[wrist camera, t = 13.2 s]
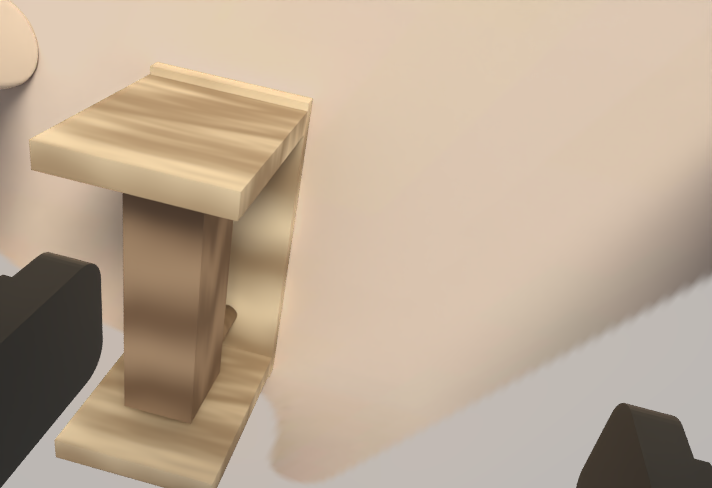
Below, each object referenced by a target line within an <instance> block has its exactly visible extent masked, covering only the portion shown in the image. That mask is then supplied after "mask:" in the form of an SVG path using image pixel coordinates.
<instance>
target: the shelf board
mask: <svg viewBox="0 0 712 488" xmlns="http://www.w3.org/2000/svg"><path fill="white" fill-rule="evenodd" d="M232 231H233V220H230V219H226V218H222V217H218V216H214V215H210V214H206V213H202V212H198V211H194V210H190V209H186V208H182V207H178V206H174V205H170V204H166V203H162V202H158V201H154V200H150V199H146V198H142V197H138V196H134V195H130V194H126V193H123V286H124V405H125V406H127V407H131V408H134V409H138V410H142V411H145V412H149V413H153V414H156V415H160V416H164V417H167V418H171V419H175V420H178V421H182V422H186V423H189V424H191V422H192V421H193V419H194V417H195V415H196V414H197V412H198V410H199V408H200V406H201V405H202V403H203V401H204V399H205V398H206V396H207V394H208V392H209V390H210V389H211V387H212V385H213V383H214V382H215V380H216V378H217V376H218V374H219V373H220V363H221V352H222V341H223V330H224V319H225V308H226V297H227V286H228V275H229V264H230V253H231V242H232Z"/></svg>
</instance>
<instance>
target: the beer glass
mask: <svg viewBox="0 0 712 488" xmlns="http://www.w3.org/2000/svg"><path fill="white" fill-rule="evenodd" d="M37 61H38V46H37V41H36V37H35V34H34V32H33V30H32V27H31V25H30V24H29V22H28V20H27V19H26V17H25V16H24V15H23V13H22V12H21V11H20V10H19V9H18V8H17V7H16V6H15V5H14V4H13V3H12V2H11V1H9V0H0V89H8V88H13V87H16V86H19V85H21V84H23V83H24V82H26V81H27V80H28V79H29V78H30V77H31V76H32V74H33V73H34V71H35V68H36V66H37Z"/></svg>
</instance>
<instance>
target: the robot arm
mask: <svg viewBox="0 0 712 488" xmlns="http://www.w3.org/2000/svg"><path fill="white" fill-rule="evenodd" d="M102 342H103V336H102V300H101V274H100V270H99V268H98V267H97V266H96V265H95V264H92V263H88V262H85V261H81V260H77V259H73V258H69V257H65V256H62V255H58V254H54V253H49V252H46V253H43V254H41V255H39V256H38V257H36V258H35V259H34V260H33V261H31V262H30V263H29V264H28V265H26V266H25V267H24V268H23V269H22V270H20V271H19V272H18V273H17V274H15V275H14V276H13V277H9V276H6V275H1V276H0V488H1V487H2V486H3V484H4V483H5V482H6V481H7V479H8V478H9V477H10V476H11V475H12V473H13V472H14V471H15V470H16V468H17V467H18V466H19V465H20V464H21V462H22V461H23V460H24V459H25V458H26V456H27V455H28V454H29V453H30V451H31V450H32V449H33V448H34V446H35V445H36V444H37V443H38V442H39V440H40V439H41V438H42V437H43V435H44V434H45V433H46V432H47V431H48V429H49V428H50V427H51V426H52V424H53V423H54V422H55V421H56V419H57V418H58V417H59V416H60V415H61V414H62V412H63V411H64V410H65V409H66V407H67V406H68V405H69V404H70V403H71V401H72V400H73V399H74V398H75V397H76V395H77V394H78V393H79V392H80V390H81V389H82V388H83V387H84V386H85V384H86V383H87V382H88V380H89V379H90V378H91V376H92V374H93V373H94V370H95V369H96V366H97V364H98V361H99V358H100V355H101V350H102ZM576 488H712V466H711V464H710V463H709V462H705V461H701V460H697V459H694V457H693V454H692V451H691V449H690V446H689V443H688V440H687V437H686V435H685V432H684V429H683V426H682V424H681V422H680V421H679V419H678V418H676V417H675V416H672V415H668V414H664V413H660V412H656V411H653V410H648V409H645V408H641V407H637V406H633V405H630V404H626V403H621V404H619V405H618V406H617V407H616V408H615V409H614V410H613V412H612V414H611V416H610V418H609V420H608V421H607V424H606V425H605V428H604V429H603V431H602V433H601V435H600V437H599V439H598V441H597V443H596V444H595V446H594V448H593V450H592V452H591V454H590V456H589V458H588V460H587V462H586V464H585V466H584V467H583V469H582V471H581V474H580V476H579V479H578V483H577V487H576Z"/></svg>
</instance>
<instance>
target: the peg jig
mask: <svg viewBox="0 0 712 488" xmlns="http://www.w3.org/2000/svg"><path fill="white" fill-rule="evenodd" d="M312 100H313V99H312V98H307V97H303V96H299V95H295V94H290V93H286V92H282V91H278V90H273V89H269V88H265V87H260V86H256V85H252V84H248V83H243V82H239V81H235V80H231V79H226V78H222V77H218V76H214V75H209V74H205V73H201V72H197V71H192V70H188V69H184V68H179V67H175V66H171V65H167V64H162V63H158V62H157V63H155V64H153V65H152V66H150V75H148V76H146V77H144V78H142V79H140V80H139V81H137V82H135V83H133V84H131V85H129V86H127V87H126V88H124V89H122V90H120V91H118V92H116V93H114V94H113V95H111V96H109V97H107V98H105V99H103V100H102V101H100V102H98V103H96V104H94V105H92V106H90V107H89V108H87V109H85V110H83V111H81V112H79V113H77V114H76V115H74V116H72V117H70V118H68V119H66V120H65V121H63V122H61V123H59V124H57V125H55V126H53V127H52V128H50V129H48V130H46V131H44V132H42V133H40V134H39V135H37V136H35V137H33V138H31V139H29V147H30V158H31V170H34V171H38V172H42V173H46V174H50V175H54V176H58V177H62V178H66V179H70V180H74V181H78V182H82V183H86V184H90V185H94V186H98V187H102V188H106V189H110V190H114V191H118V192H122V193H126V194H130V195H134V196H138V197H142V198H146V199H150V200H154V201H158V202H162V203H166V204H170V205H174V206H178V207H182V208H186V209H190V210H194V211H198V212H202V213H206V214H210V215H214V216H218V217H222V218H226V219H230V220H233V231H232V242H231V253H230V264H229V275H228V286H227V297H226V308H225V319H224V330H223V341H222V352H221V363H220V373H219V374H218V376H217V378H216V380H215V382H214V383H213V385H212V387H211V389H210V390H209V392H208V394H207V396H206V398H205V399H204V401H203V403H202V405H201V406H200V408H199V410H198V412H197V414H196V415H195V417H194V419H193V421H192V422H191V424H189V423H186V422H182V421H178V420H175V419H171V418H167V417H164V416H160V415H156V414H153V413H149V412H145V411H142V410H138V409H134V408H131V407H127V406H125V405H124V353H123V354H122V356H121V357H120V358H119V359H118V361H117V362H116V363H115V365H114V366H113V367H112V368H111V370H110V371H109V372H108V373H107V375H106V376H105V377H104V378H103V380H102V381H101V382H100V383H99V385H98V386H97V387H96V389H95V390H94V391H93V392H92V393H91V395H90V396H89V397H88V399H87V400H86V401H85V402H84V404H83V405H82V406H81V407H80V409H79V410H78V411H77V412H76V414H75V415H74V416H73V417H72V419H71V420H70V421H69V422H68V424H67V425H66V427H65V428H64V429H63V430H62V431H61V433H60V434H59V435H58V436H57V438H56V439H55V452H56V457H58V458H61V459H65V460H68V461H72V462H75V463H79V464H82V465H86V466H90V467H93V468H97V469H100V470H104V471H107V472H111V473H114V474H118V475H121V476H125V477H128V478H132V479H135V480H139V481H143V482H146V483H149V484H153V485H157V486H160V487H164V488H217V487H218V484H219V482H220V480H221V478H222V476H223V474H224V471H225V469H226V467H227V465H228V463H229V460H230V458H231V456H232V454H233V452H234V450H235V447H236V445H237V443H238V441H239V439H240V436H241V434H242V432H243V430H244V427H245V425H246V423H247V421H248V418H249V417H250V415H251V412H252V410H253V408H254V406H255V404H256V401H257V399H258V397H259V395H260V393H261V391H262V388H263V386H264V384H265V382H266V380H267V377H269V376H270V374H271V372H272V370H273V365H274V358H275V351H276V344H277V337H278V331H279V324H280V317H281V310H282V303H283V297H284V290H285V283H286V276H287V270H288V263H289V256H290V249H291V242H292V236H293V229H294V222H295V215H296V209H297V202H298V195H299V188H300V181H301V175H302V168H303V161H304V154H305V148H306V141H307V134H308V127H309V120H310V114H311V107H312Z"/></svg>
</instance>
